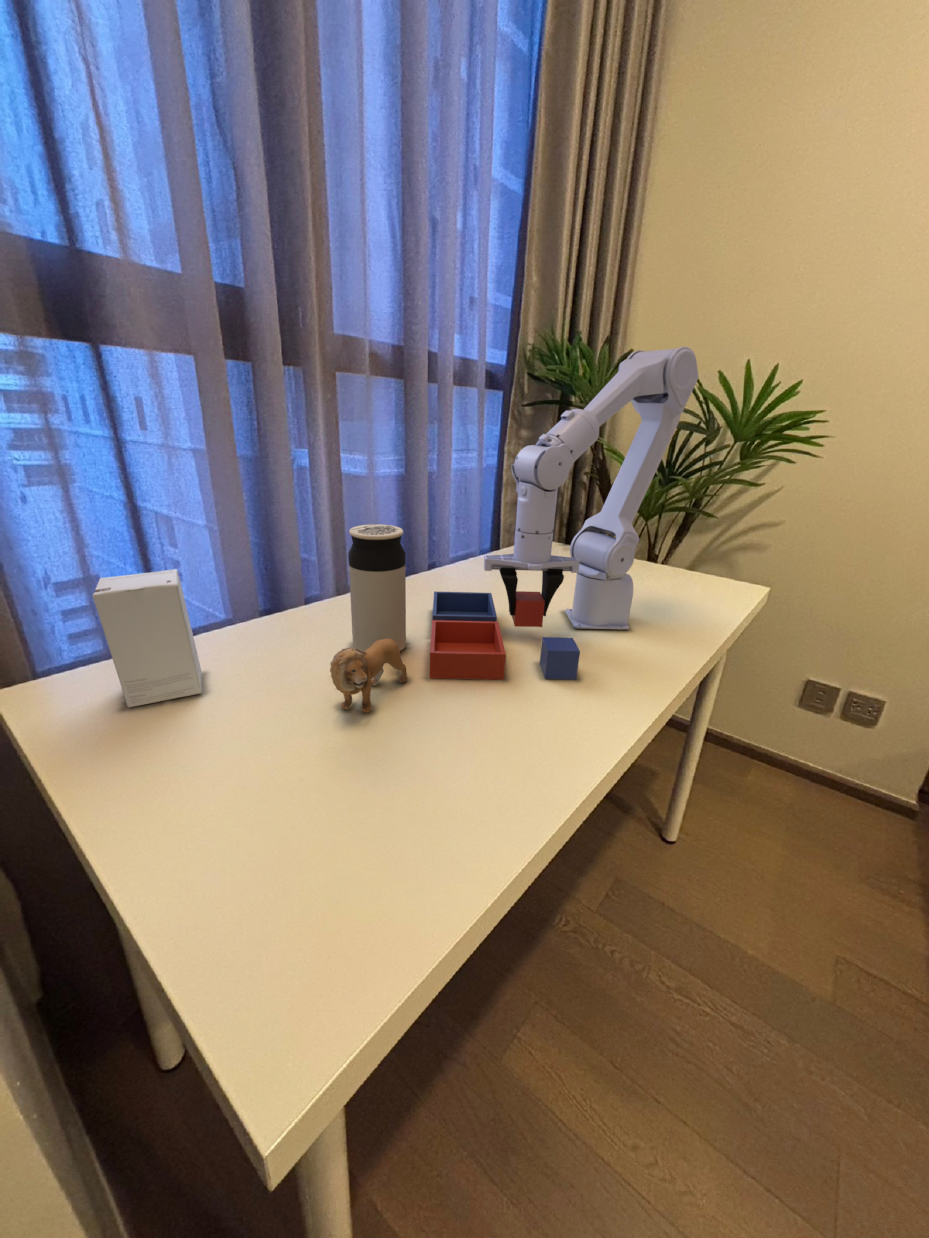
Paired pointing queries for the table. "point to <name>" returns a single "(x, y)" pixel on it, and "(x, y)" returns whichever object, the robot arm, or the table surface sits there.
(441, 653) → the red bin
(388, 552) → the travel mug
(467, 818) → the table surface
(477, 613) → the blue bin
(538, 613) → the red block
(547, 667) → the blue block
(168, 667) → the cosmetic box
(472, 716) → the table surface
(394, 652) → the lion figurine
